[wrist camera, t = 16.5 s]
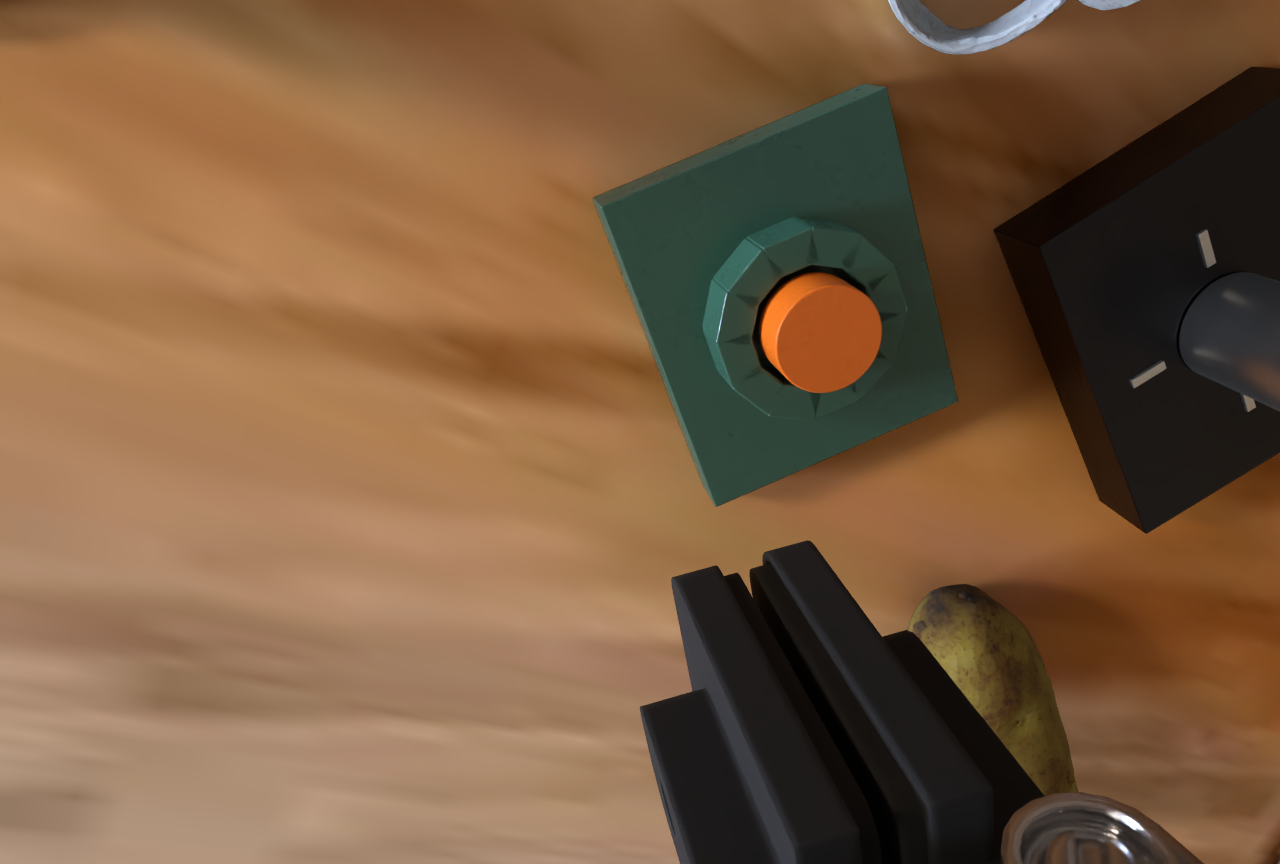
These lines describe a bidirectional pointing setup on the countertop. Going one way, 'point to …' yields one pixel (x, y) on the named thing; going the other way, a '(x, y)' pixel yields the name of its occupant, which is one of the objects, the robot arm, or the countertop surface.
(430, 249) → the countertop surface
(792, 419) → the block
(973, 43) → the ceramic mug
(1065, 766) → the potato
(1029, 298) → the hob console
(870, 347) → the button
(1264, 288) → the knob
